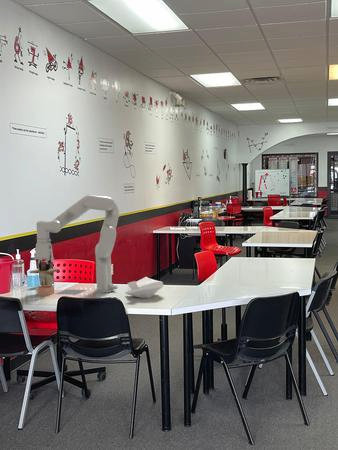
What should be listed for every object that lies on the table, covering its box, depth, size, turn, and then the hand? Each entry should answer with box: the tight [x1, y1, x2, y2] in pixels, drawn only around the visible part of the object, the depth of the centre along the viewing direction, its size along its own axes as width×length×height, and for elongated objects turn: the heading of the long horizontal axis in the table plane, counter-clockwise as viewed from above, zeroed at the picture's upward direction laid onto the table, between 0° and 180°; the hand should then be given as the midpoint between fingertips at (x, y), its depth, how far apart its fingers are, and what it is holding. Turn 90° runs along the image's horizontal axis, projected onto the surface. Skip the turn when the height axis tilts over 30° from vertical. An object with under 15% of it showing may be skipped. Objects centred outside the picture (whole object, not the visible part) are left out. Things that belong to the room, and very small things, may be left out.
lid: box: [29, 261, 60, 274], centre depth 362 cm, size 13×13×6 cm
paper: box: [125, 276, 164, 299], centre depth 346 cm, size 25×24×12 cm
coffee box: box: [36, 261, 55, 286], centre depth 394 cm, size 9×6×16 cm
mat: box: [54, 288, 88, 296], centre depth 367 cm, size 15×15×1 cm
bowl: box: [35, 285, 55, 297], centre depth 363 cm, size 10×10×5 cm
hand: (44, 269), depth 362 cm, fingers closed on lid, 4 cm apart
